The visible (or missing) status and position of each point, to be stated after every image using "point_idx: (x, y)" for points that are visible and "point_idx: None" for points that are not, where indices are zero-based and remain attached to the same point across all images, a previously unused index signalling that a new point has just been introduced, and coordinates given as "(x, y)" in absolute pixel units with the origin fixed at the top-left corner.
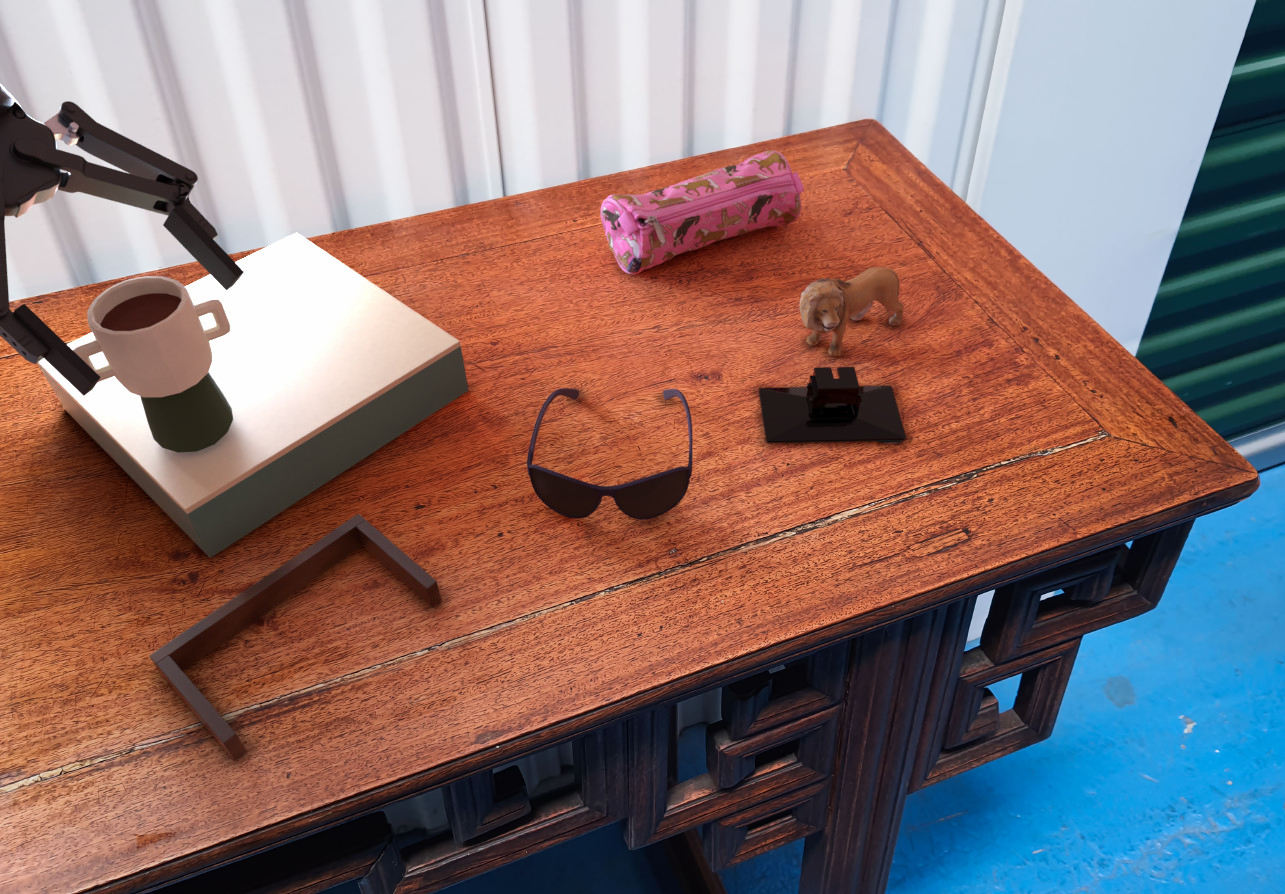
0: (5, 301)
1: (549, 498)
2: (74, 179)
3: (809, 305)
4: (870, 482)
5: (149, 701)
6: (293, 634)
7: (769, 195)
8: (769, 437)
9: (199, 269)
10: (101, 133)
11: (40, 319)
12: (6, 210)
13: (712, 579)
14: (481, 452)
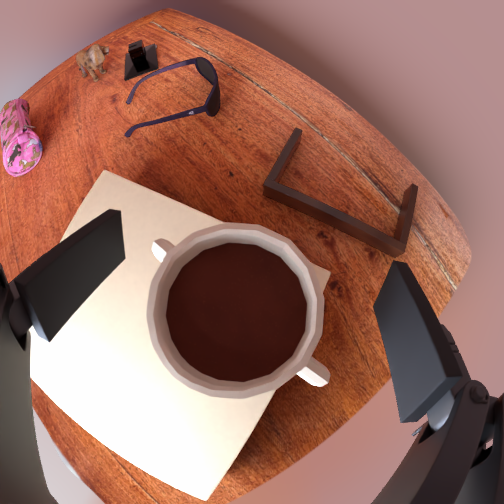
0: (465, 399)
1: (216, 106)
2: (22, 496)
3: (99, 51)
4: (177, 44)
5: (407, 254)
6: (345, 200)
7: (21, 104)
8: (156, 67)
9: (60, 441)
10: None
11: (432, 344)
12: None
13: (240, 63)
14: (177, 161)
